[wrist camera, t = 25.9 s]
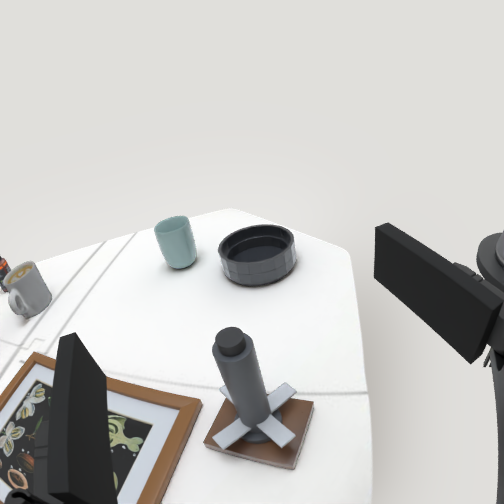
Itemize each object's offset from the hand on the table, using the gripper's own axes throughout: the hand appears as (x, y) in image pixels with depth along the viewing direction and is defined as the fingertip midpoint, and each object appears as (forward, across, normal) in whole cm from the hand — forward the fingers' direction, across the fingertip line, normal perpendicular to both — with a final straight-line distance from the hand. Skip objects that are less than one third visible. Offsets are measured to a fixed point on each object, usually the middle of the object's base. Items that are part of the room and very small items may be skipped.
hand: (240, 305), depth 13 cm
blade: (+10, 0, -27) cm, 28 cm away
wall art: (+14, -30, -28) cm, 44 cm away
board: (+10, 0, -28) cm, 30 cm away
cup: (+54, -2, -28) cm, 61 cm away
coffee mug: (+57, -43, -28) cm, 77 cm away
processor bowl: (+43, +12, -28) cm, 53 cm away
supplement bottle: (+76, -58, -28) cm, 100 cm away
